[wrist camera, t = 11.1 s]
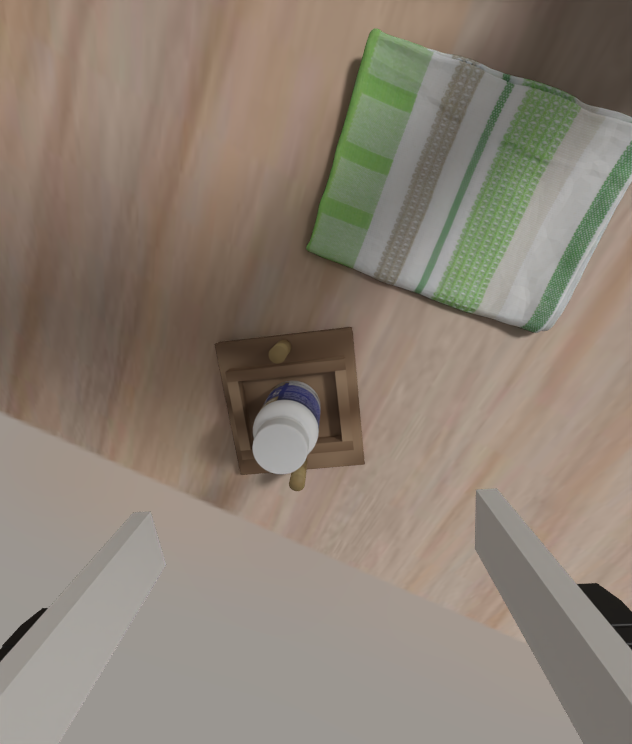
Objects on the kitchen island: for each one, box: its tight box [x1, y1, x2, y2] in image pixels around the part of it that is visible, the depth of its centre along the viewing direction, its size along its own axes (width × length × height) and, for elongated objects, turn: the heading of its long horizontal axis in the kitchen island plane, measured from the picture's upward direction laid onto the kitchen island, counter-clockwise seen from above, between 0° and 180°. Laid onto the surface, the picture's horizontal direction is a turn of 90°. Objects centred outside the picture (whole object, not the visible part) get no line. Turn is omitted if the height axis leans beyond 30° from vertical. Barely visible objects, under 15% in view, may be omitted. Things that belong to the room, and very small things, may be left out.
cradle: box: [215, 327, 365, 491], centre depth 29 cm, size 14×13×5 cm
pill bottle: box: [252, 381, 321, 474], centre depth 26 cm, size 5×5×9 cm
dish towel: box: [306, 29, 632, 333], centre depth 25 cm, size 17×23×4 cm
